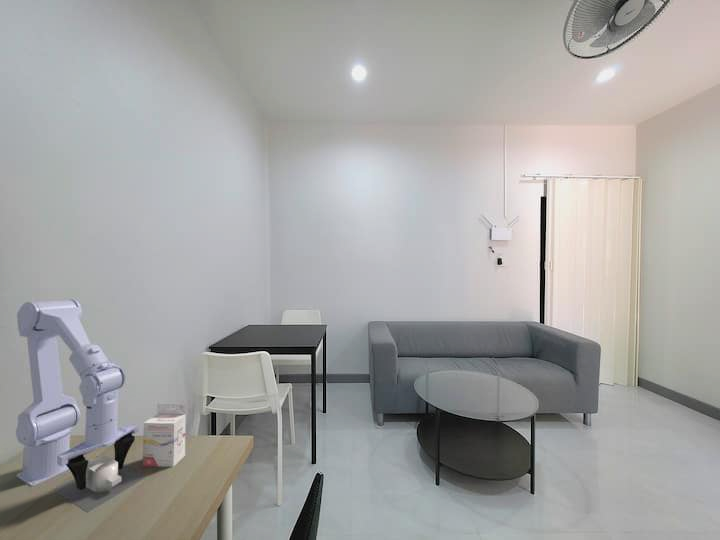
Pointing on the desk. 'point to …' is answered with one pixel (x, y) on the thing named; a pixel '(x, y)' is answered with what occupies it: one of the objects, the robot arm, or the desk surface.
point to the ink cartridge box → (165, 436)
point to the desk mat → (92, 499)
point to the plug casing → (102, 474)
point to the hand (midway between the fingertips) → (100, 477)
